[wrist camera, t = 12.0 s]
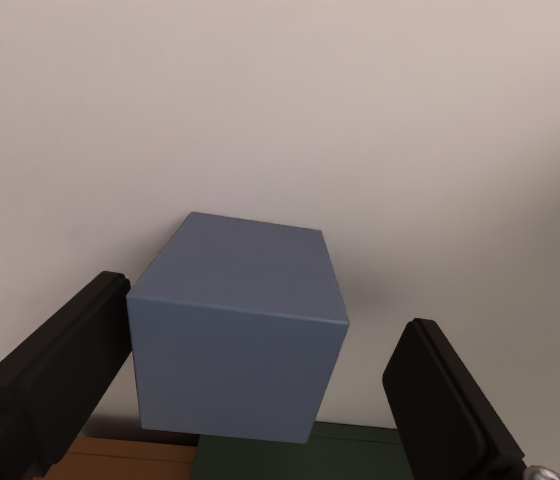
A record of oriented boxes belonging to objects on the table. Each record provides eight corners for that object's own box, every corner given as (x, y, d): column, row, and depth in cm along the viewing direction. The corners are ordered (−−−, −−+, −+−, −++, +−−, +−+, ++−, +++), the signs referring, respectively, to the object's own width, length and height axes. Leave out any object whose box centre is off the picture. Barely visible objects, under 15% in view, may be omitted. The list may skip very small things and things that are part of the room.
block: (189, 313, 13) (139, 430, 8) (191, 210, 10) (124, 294, 6) (297, 326, 13) (307, 445, 8) (322, 230, 11) (351, 323, 6)
